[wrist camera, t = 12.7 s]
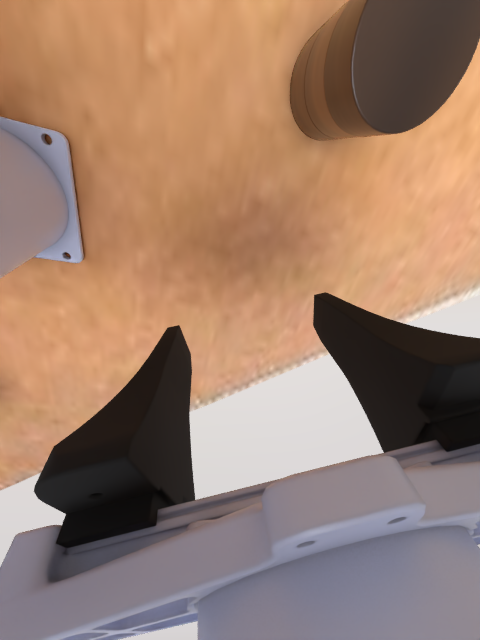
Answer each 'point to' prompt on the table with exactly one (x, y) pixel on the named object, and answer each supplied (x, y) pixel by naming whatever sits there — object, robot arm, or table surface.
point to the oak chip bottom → (298, 93)
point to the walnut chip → (397, 62)
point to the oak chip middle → (322, 81)
